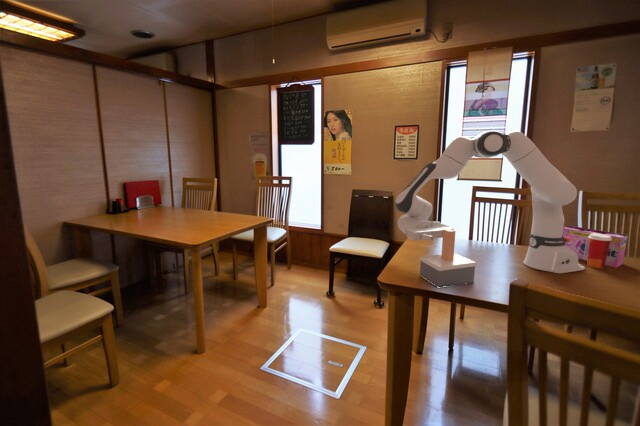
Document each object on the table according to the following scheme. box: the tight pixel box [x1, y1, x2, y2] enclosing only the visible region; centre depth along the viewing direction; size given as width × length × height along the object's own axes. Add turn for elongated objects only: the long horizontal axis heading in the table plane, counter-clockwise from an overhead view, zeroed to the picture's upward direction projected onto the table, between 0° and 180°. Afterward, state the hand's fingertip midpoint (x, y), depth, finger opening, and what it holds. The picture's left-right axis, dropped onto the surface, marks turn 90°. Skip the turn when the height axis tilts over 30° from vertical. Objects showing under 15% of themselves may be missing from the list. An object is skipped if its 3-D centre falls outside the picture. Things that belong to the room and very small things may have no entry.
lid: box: [419, 229, 477, 271], centre depth 123 cm, size 16×12×15 cm
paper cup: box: [586, 233, 612, 269], centre depth 136 cm, size 8×8×14 cm
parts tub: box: [419, 261, 476, 287], centre depth 125 cm, size 16×12×7 cm
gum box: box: [562, 225, 629, 268], centre depth 146 cm, size 24×8×14 cm, turn 31°
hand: (441, 237), depth 126 cm, fingers open, 8 cm apart
